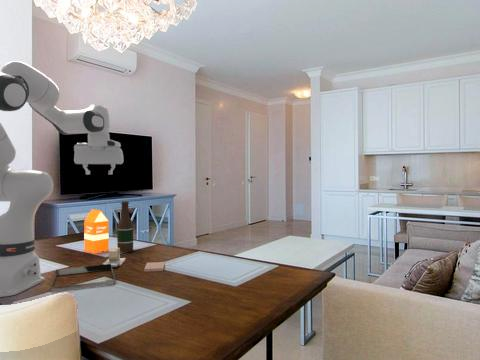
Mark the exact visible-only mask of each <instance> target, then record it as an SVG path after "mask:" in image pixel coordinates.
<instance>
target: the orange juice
mask: <svg viewBox="0 0 480 360" xmlns="http://www.w3.org/2000/svg"><path fill="white" fill-rule="evenodd" d="M83 222H84V223H83V226H84V227H83V228H84V229H83V232H84V233H83V235H84V237H83V239H84V240H83V243H84V252H87V253H90V252H91V254H99V253H103V252H102V251H104V252H108V251H107V250H109V251H110V249H109V243H110V242H109V237H110V236H109V235H110V234H109V219H108V218H107V217H106V216H105V214H104V213H103V211H102V210H99V209H92V208H91V210H90V212H89V213H88V214H87V216H86V218H85V219H84V221H83ZM98 252H99V253H98Z"/></svg>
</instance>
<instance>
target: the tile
mask: <svg viewBox="0 0 480 360" xmlns="http://www.w3.org/2000/svg"><path fill="white" fill-rule="evenodd" d="M165 264H166V263H165V261H161V262H160V261H159V262H155V261H154V262H146V264H145V267H144V272H146V273H148V272H163V271H164V269H165Z"/></svg>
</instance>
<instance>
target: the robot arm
mask: <svg viewBox="0 0 480 360" xmlns="http://www.w3.org/2000/svg"><path fill="white" fill-rule="evenodd" d="M59 100H60V89H59V87H58V85H57V84H56V83H55V81H54V80H52V79H51V78H50V77H48V76H46V74H44V73H42V72H41V71H39V70H38V69H36V68H34V67H33V66H31V65H29V64H27V63H25V62H22V61H19V60H12V61H9V62H7V63H6V64H4V65H3V67H2V69H1V71H0V111H1V112H15V111H18V110H21V109H22V108H23V107H24V106H25V104H26V103H28V105H29V107H30V108H31V109H32V110H33V111H34V112H36V113H37V114H38V115H40V116H41V117H43V118H44V120H47V121H48V122H49V123H50V124H51V125H52V126H53V127H54V129H55V130H56V131H57V132H58V133H60V134H62V135H64V136H67V135H78V134H79V135H80V134H87V142H77V143H76V144H74V146H73V151H74V155H73V157H74V158H73V161H74V164H75V165H82V168H83V169H84V170H85V175H87V176H88V175H91V170H89V169H88V167H89V165H110V167H111V168H110V170H108V173H107V174H108V175H113V171H114V170H115V168H116V165H123V163H124V153H123V150H122V148H121V147H122V145H121V142H119V141H116V140H113V139H111V138H110V136H111V135H110V133H109V132H110V114H109V110H108V108H107V107H106V106H104V105H102V104H90V105H89V106H88V107H86V108H84V109H75V110H63V109H62V110H61V109H59V108H58V107H57V106H56V105H57V103H58V102H59ZM16 151H17V150H16V148H15V146H14V144H13V143H12V140H11V139H10V137H9V134H8V133H7V131H6V129H5V128H4V126H3V124H2V123H1V122H0V202H9V207H8V209H7V211H6V212H5V213H3V214H1V215H0V298H2V297H9V296H14V295H18V294H20V293H22V292H24V291H25V290H28V289H30V288H32V287H34V286H36V285H39V284H40V283H42V282H45V280H46V278H45V277H44V276H43V275H42V274H41V265H40V264H41V263H40V257H39V256H38V255H37V254H36V252H35V250H36V240H35V238H34V228H35V227H34V224H35V223H34V221H35V216H36V214H37V213H36V212H37V211H38V209H39V207H40V205H41V204H42V203H43V202H44V201H45V200H47V199H48V198H49V197H50V196H51V195H52V193H53V190H54V180H53V178H52V177H51V175H50V174H49V173H48V172H46V171H41V170H38V169H12V168H11V167H10V164H11V163H12V162H13V161H14V160H15V159H16V155H17V152H16Z"/></svg>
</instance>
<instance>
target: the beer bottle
mask: <svg viewBox="0 0 480 360" xmlns="http://www.w3.org/2000/svg"><path fill="white" fill-rule="evenodd" d="M129 203H130V202H129V201H127V200H126V201H124V200H123V201H121V202H120V204H121V211H120V213H121V214H120V219H119V221H118V223H117V227H116V228H117V230H116V232H117V235H116V236H117V241H116V243H117V244H116V245H117V247H116V248H120V253H122V252H123V253H130V252H129V251H131V252H133V251H134V224H133V220H132V219H131V216H130V212H129V211H130V210H129Z"/></svg>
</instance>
